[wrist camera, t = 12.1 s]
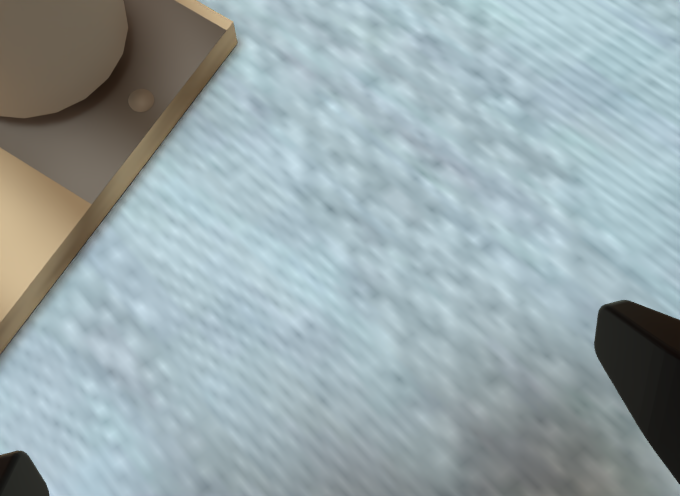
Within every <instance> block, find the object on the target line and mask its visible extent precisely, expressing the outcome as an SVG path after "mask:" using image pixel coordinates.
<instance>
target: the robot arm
mask: <svg viewBox="0 0 680 496" xmlns="http://www.w3.org/2000/svg"><path fill="white" fill-rule="evenodd" d="M594 346H595V352H596V355H597V357H598V359H599V361H600V363H601V364H602V366H603V368H604V369H605V371H606V373H607V374H608V376H609V378H610V379H611V381H612V383H613V385H614V386H615V388H616V390H617V391H618V393H619V395H620V396H621V398H622V400H623V401H624V403H625V405H626V406H627V408H628V410H629V412H630V413H631V415H632V417H633V418H634V420H635V422H636V423H637V425H638V427H639V428H640V430H641V431H642V433H643V434H644V436H645V438H646V439H647V441H648V442H649V443H650V445H651V446H652V448H653V449H654V450H655V452H656V453H657V455H658V456H659V457H660V459H661V460H662V461H663V463H664V464H665V465H666V467H667V468H668V469H669V471H670V472H671V473H672V475H673V476H674V477H675V479H676V480H677V482H678V483H679V484H680V320H679V319H676V318H673V317H671V316H668V315H665V314H663V313H660V312H658V311H655V310H652V309H650V308H647V307H645V306H642V305H639V304H637V303H634V302H631V301H628V300H621V301H617V302H613V303H609V304H605V305H603V306H601V308H600V309H599V312H598V318H597V326H596V333H595V341H594ZM0 496H49V491H48V487H47V485H46V483H45V481H44V480H43V478H42V476H41V475H40V473H39V472H38V470H37V468H36V467H35V465H34V464H33V462H32V460H31V459H30V457H29V456H28V455H27V453H25V452H23V451H14V452H11V453H7V454H3V455H0Z"/></svg>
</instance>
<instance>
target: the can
mask: <svg viewBox="0 0 680 496" xmlns="http://www.w3.org/2000/svg"><path fill="white" fill-rule="evenodd" d="M127 31H128V23H127V17H126V11H125V5H124V1H123V0H0V116H5V117H15V118H29V117H35V116H40V115H46V114H52V113H57V112H59V111H61V110H63V109H65V108H67V107H69V106H71V105H73V104H75V103H78V102H80V101H82V100H84V99H86V98H87V97H88V96H89V95H90V94H91V93H92V92H94V91H95V90H96V89H97V88H98V87H99V86H100V85H101V84H102V83H104V82H105V81H106V80H107V79H108V78H109V76H110V75H111V73H112V71H113V70H114V68H115V66H116V65H117V63H118V61H119V60H120V58H121V56H122V55H123V51H124V46H125V41H126V36H127Z"/></svg>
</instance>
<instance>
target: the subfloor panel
mask: <svg viewBox="0 0 680 496" xmlns="http://www.w3.org/2000/svg"><path fill="white" fill-rule="evenodd" d="M123 1H124V5H125V11H126V17H127V23H128V31H127V36H126V41H125V46H124V51H123V55H122V56H121V58H120V60H119V61H118V63H117V65H116V66H115V68H114V70H113V71H112V73H111V75H110V76H109V78H108V79H107V80H106V81H105V82H104V83H102V84H101V85H100V86H99V87H98V88H97V89H96V90H95V91H94V92H92V93H91V94H90V95H89V96H88V97H87V98H86V99H84V100H82V101H80V102H78V103H75V104H73V105H71V106H69V107H67V108H65V109H63V110H61V111H59V112H57V113H52V114H46V115H40V116H35V117H29V118H15V117H5V116H0V354H1V352H2V351H3V350H4V349H5V347H6V346H7V345H8V343H9V342H10V341H11V339H12V338H13V337H14V335H15V334H16V333H17V331H18V330H19V329H20V328H21V326H22V325H23V324H24V322H25V321H26V320H27V318H28V317H29V316H30V314H31V313H32V312H33V310H34V309H35V308H36V307H37V305H38V304H39V303H40V301H41V300H42V299H43V297H44V296H45V295H46V293H47V292H48V291H49V290H50V288H51V287H52V286H53V284H54V283H55V282H56V280H57V279H58V278H59V276H60V275H61V274H62V272H63V271H64V270H65V269H66V267H67V266H68V265H69V263H70V262H71V261H72V259H73V258H74V257H75V255H76V254H77V253H78V251H79V250H80V249H81V248H82V246H83V245H84V244H85V242H86V241H87V240H88V238H89V237H90V236H91V234H92V233H93V232H94V231H95V229H96V228H97V227H98V225H99V224H100V223H101V221H102V220H103V219H104V217H105V216H106V215H107V213H108V212H109V211H110V210H111V208H112V207H113V206H114V204H115V203H116V202H117V200H118V199H119V198H120V196H121V195H122V194H123V192H124V191H125V190H126V189H127V187H128V186H129V185H130V183H131V182H132V181H133V179H134V178H135V177H136V175H137V174H138V173H139V172H140V170H141V169H142V168H143V166H144V165H145V164H146V162H147V161H148V160H149V158H150V157H151V156H152V154H153V153H154V152H155V151H156V149H157V148H158V147H159V145H160V144H161V143H162V141H163V140H164V139H165V137H166V136H167V135H168V133H169V132H170V131H171V130H172V128H173V127H174V126H175V124H176V123H177V122H178V120H179V119H180V118H181V116H182V115H183V114H184V113H185V111H186V110H187V109H188V107H189V106H190V105H191V103H192V102H193V101H194V99H195V98H196V97H197V95H198V94H199V93H200V92H201V90H202V89H203V88H204V86H205V85H206V84H207V82H208V81H209V80H210V78H211V77H212V76H213V74H214V73H215V72H216V71H217V69H218V68H219V67H220V65H221V64H222V63H223V61H224V60H225V59H226V57H227V56H228V55H229V54H230V52H231V51H232V50H233V48H234V47H235V46H236V44H237V38H236V33H235V28H234V23H233V21H231V20H229V19H228V18H226V17H224V16H222V15H221V14H219V13H217V12H215V11H214V10H212V9H210V8H209V7H207V6H205V5H203V4H202V3H200V2H198V1H196V0H123Z"/></svg>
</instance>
